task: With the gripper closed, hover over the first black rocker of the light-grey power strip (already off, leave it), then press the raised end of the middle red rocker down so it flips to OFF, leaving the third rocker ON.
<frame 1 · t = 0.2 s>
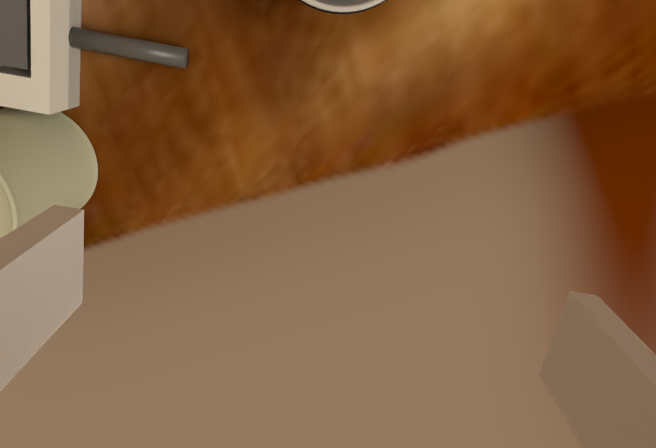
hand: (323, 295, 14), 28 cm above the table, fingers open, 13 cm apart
can: (41, 161, 42), on the table
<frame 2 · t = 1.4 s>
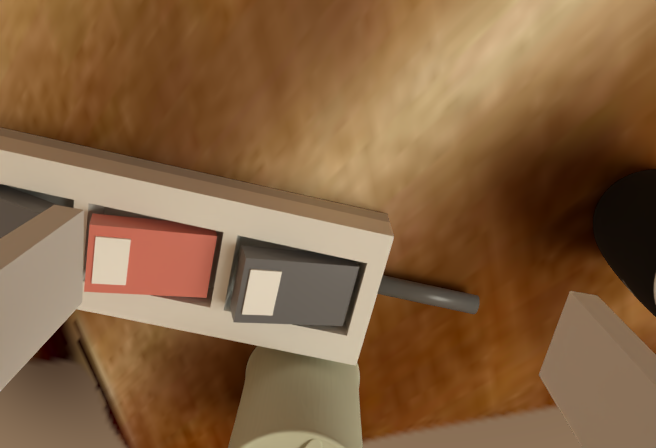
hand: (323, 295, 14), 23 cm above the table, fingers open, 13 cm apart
can: (302, 374, 43), on the table
mug: (655, 218, 39), on the table
rocker mid: (151, 257, 35), point 5 cm above the table, hinge at 18.0°
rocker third: (294, 287, 35), point 5 cm above the table, hinge at 18.0°
strip: (171, 232, 39), on the table
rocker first: (2, 226, 34), point 5 cm above the table, hinge at -18.0°
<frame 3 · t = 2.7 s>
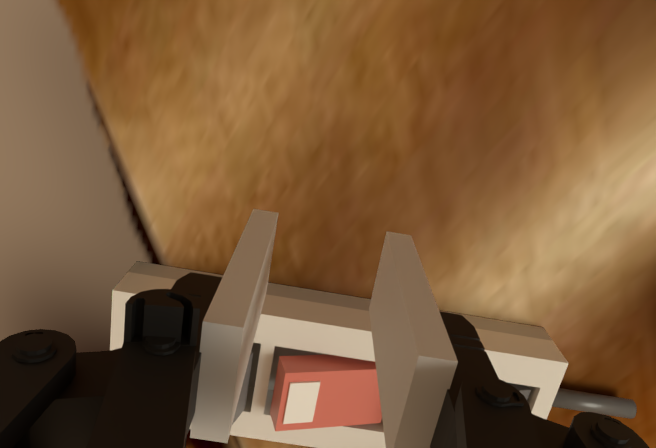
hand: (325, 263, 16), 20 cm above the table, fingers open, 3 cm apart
rocker mid: (332, 391, 36), point 5 cm above the table, hinge at 18.0°
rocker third: (468, 412, 37), point 5 cm above the table, hinge at 18.0°
strip: (331, 352, 40), on the table
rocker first: (191, 369, 36), point 5 cm above the table, hinge at -18.0°
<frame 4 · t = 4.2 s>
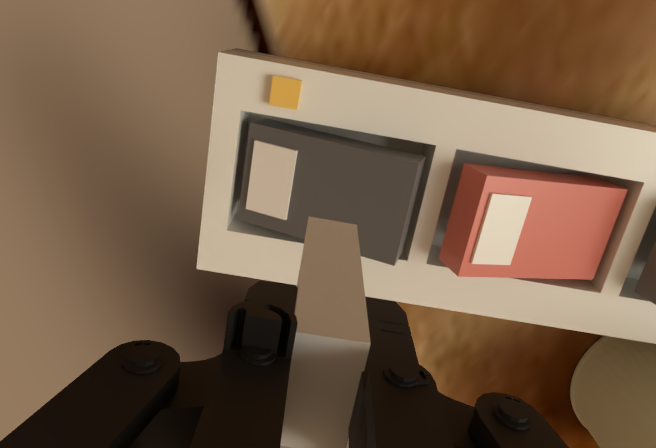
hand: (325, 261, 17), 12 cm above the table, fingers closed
can: (643, 379, 33), on the table
rocker mid: (532, 225, 24), point 5 cm above the table, hinge at 18.0°
strip: (502, 195, 29), on the table
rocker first: (327, 189, 24), point 5 cm above the table, hinge at -18.0°
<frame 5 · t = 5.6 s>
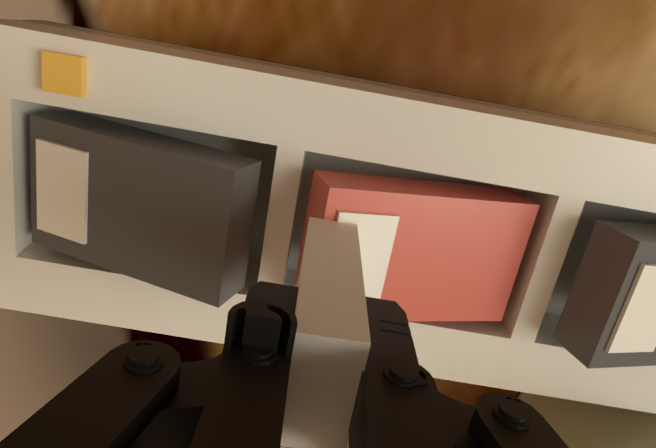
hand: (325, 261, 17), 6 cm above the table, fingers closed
can: (588, 432, 27), on the table
rocker mid: (414, 251, 18), point 5 cm above the table, hinge at 17.7°, touching gripper
strip: (400, 209, 23), on the table
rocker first: (139, 204, 18), point 5 cm above the table, hinge at -18.0°
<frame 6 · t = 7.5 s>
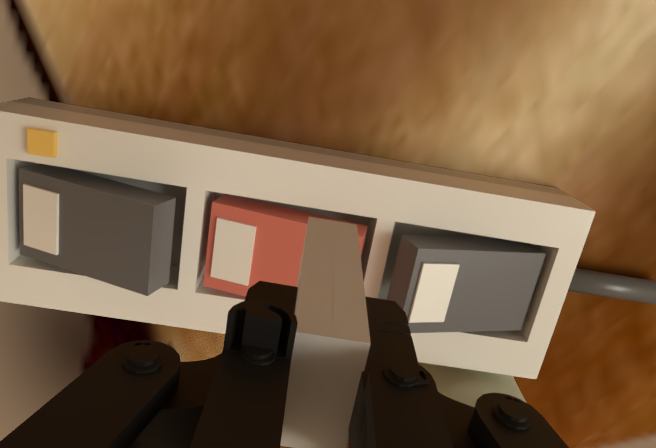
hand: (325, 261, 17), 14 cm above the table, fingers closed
can: (444, 392, 36), on the table
rocker mid: (283, 256, 27), point 5 cm above the table, hinge at -12.0°
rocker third: (464, 285, 28), point 5 cm above the table, hinge at 18.0°
strip: (289, 227, 31), on the table
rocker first: (94, 227, 26), point 5 cm above the table, hinge at -18.0°
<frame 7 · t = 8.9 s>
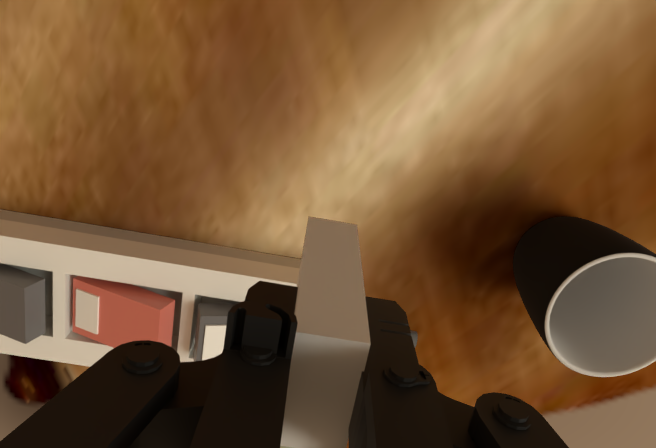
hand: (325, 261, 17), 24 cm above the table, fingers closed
mug: (570, 256, 43), on the table
rocker mid: (122, 316, 40), point 5 cm above the table, hinge at -18.8°
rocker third: (248, 336, 40), point 5 cm above the table, hinge at 18.0°
strip: (142, 288, 44), on the table
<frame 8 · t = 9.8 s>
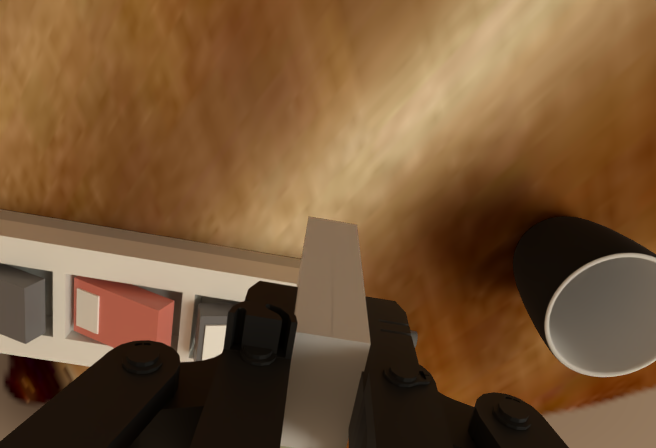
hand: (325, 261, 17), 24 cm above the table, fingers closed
mug: (570, 256, 43), on the table
rocker mid: (121, 316, 40), point 5 cm above the table, hinge at -20.7°
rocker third: (248, 336, 40), point 5 cm above the table, hinge at 18.0°
strip: (142, 288, 44), on the table
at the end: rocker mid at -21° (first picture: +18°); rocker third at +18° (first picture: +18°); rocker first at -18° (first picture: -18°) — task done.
